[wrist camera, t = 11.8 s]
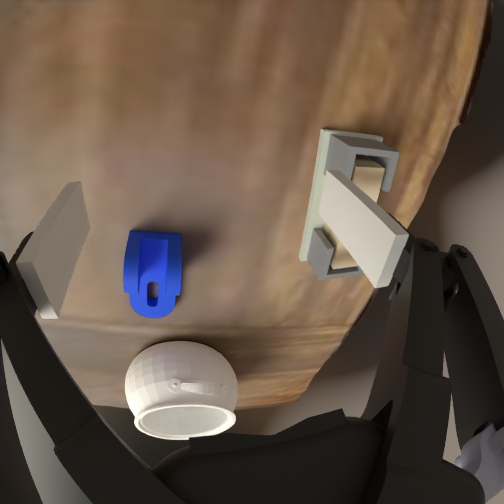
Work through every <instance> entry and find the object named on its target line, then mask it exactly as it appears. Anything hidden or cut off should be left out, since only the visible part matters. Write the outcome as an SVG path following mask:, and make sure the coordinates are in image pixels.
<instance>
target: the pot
mask: <svg viewBox="0 0 504 504" xmlns="http://www.w3.org/2000/svg"><path fill="white" fill-rule="evenodd" d="M125 393H126V398H127V401H128V405H129V407H130V409H131V411H132V412H133V414H134V415H135V421H134V423H135V426H136V427H137V428H138V429H139V430H140V431H142V432H143V433H146V434H148V435H151V436H154V437H158V438H164V439H175V440H187V439H189V437H199V436H209V435H215V434H218V433H221V432H223V431H225V430H227V429H228V428H230V427H231V426H232V425H233V424H234V423H235V420H236V417H235V414H234V413H233V411H234V408H235V406H236V403H237V401H238V385H237V379H236V376H235V373H234V371H233V369H232V367H231V365H230V363H229V362H228V361H227V360H226V359H225V357H224V356H223V355H222V354H221V353H219V352H217V351H216V350H214V349H213V348H211V347H209V346H206V345H204V344H200V343H196V342H189V341H170V342H164V343H159V344H156V345H153V346H151V347H148V348H147V349H145V350H143V351H142V352H141V353H139V354H138V355H137V356H136V357H135V358H134V360H133V361H132V363H131V365H130V367H129V368H128V371H127V374H126V380H125Z"/></svg>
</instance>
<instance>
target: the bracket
mask: <svg viewBox="0 0 504 504" xmlns="http://www.w3.org/2000/svg"><path fill="white" fill-rule="evenodd" d="M181 279H182V244H181V234H171V233H157V232H142V231H130V233H129V237H128V242H127V247H126V252H125V258H124V274H123V282H124V292H125V293H130V304H131V307H132V308H133V310H134V311H135V312H136V313H138V314H139V315H141V316H144V317H147V318H161V317H164V316H166V315H168V314H169V313H171V312H172V310H173V309H174V306H175V298H176V295H180V290H181ZM149 282H156V283H157V284H158V285H159V289H158V298H157V299H155V300H151V299H149V298H148V297H147V284H148V283H149Z"/></svg>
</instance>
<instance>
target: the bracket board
mask: <svg viewBox="0 0 504 504" xmlns="http://www.w3.org/2000/svg"><path fill="white" fill-rule="evenodd" d="M382 142H383V138H382V137H381V136H377V135H370V134H363V133H356V132H348V131H340V130H330V129H321V132H320V139H319V146H318V152H317V159H316V165H315V171H314V177H313V183H312V189H311V195H310V200H309V206H308V212H307V217H306V222H305V228H304V233H303V238H302V244H301V249H300V254H299V259H300V261H308V262H309V264H310V265H311V267H312V269H313V271H314V272H315V274H316V276H317V278H318V279H319V280H326V279H334V278H342V277H350V276H357V275H363V271H362V269H361V268H360V267H359V265H358V266H354V267H347V268H339V269H333V268H332V267H331V265H330V261H331V258H332V254H333V250H334V247H333V246H332V245H331V243H330V242H329V241H328V239H327V238H326V236H325V235H324V234H323V230H324V225H325V221H324V219H323V218H322V217H321V216H320V214H319V213H318V212H319V207H320V202H321V197H322V192H323V187H324V181H325V176H326V170H339V171H340V172H341V173H342V174H343V175H345V176H346V177H347V178H348V179H349V180H351V176H352V172H353V167H354V162H355V157H356V154H361V155H366V156H367V157H369V158H370V159H372V160H373V161H375V162H376V163H378V164H379V165H381V166H382V167H384V168H385V170H384V175H383V179H382V183H381V187H380V189H381V190H383V191H384V192H390V189H391V185H392V181H393V178H394V174H395V170H396V166H397V162H398V158H399V154H400V152H398V151H396V150H395V149H393V148H391V147H389V146H388V145H386V144H384V143H382Z"/></svg>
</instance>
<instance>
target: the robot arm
mask: <svg viewBox="0 0 504 504" xmlns="http://www.w3.org/2000/svg"><path fill="white" fill-rule="evenodd" d="M318 213H319V214H320V216H321V217H322V218H323V219H324V221H325V222H326V223H327V224H328V226H329V227H330V228H331V230H332V231H333V232H334V233H335V235H336V236H337V237H338V239H339V240H340V241H341V242H342V244H343V245H344V246H345V248H346V249H347V250H348V252H349V253H350V254H351V256H352V257H353V258H354V260H355V261H356V262H357V264H358V265H359V267H360V268H361V269H362V271H363V272H364V273H365V275H366V276H367V278H368V279H369V280H370V282H371V283H372V285H373V286H374V287H375V288H379V287H384V286H388V285H389V283H390V281H391V278H392V276H393V275H394V277H395V278H396V279H397V282H396V285H395V287H394V289H393V291H392V293H391V295H390V297H389V300H391V299H392V304H391V309H390V314H389V320H388V325H387V330H386V334H385V339H384V343H383V347H382V352H381V356H380V360H379V364H378V368H377V371H376V375H375V379H374V383H373V386H372V389H371V393H370V396H369V400H368V403H367V406H366V408H365V411H364V413H363V414H362V416H361V418H358V417H345V414H344V412H343V410H342V408H341V409H338V410H335V411H331V412H328V413H324V414H320V415H317V416H313V417H309V418H307V419H305V420H303V421H301V422H299V423H297V424H295V425H294V426H291V427H290V428H287V429H285V430H283V431H281V432H279V433H277V434H275V435H269V436H268V435H266V436H265V435H247V434H234V433H225V434H219V435H209V436H199V437H189V442H190V446H187V447H184V448H182V449H179V450H177V451H175V452H173V453H172V454H170V455H168V456H167V457H166V458H164V459H163V460H162V461H160V462H159V463H158V464H157V465H156V466H155V467H154V468H153V470H152V469H151V468H150V467H149V466H148V465H146V464H145V463H144V462H143V461H142V460H141V459H140V458H139V457H138V456H137V455H136V454H135V453H134V452H133V451H132V450H131V449H130V448H129V447H128V446H127V445H126V443H125V442H124V441H123V440H122V439H121V438H120V437H119V436H118V435H117V434H116V433H115V431H114V430H113V429H112V428H111V427H110V426H109V424H108V423H107V422H106V421H105V420H104V419H103V417H102V416H101V415H100V414H99V412H98V411H97V410H96V409H95V408H94V406H93V405H92V404H91V402H90V401H89V400H88V399H87V397H86V396H85V395H84V393H83V392H82V391H81V389H80V388H79V386H78V385H77V384H76V382H75V381H74V379H73V378H72V377H71V375H70V374H69V372H68V371H67V369H66V368H65V366H64V365H63V363H62V362H61V360H60V359H59V357H58V356H57V354H56V352H55V351H54V349H53V348H52V346H51V344H50V343H49V341H48V339H47V338H46V336H45V334H44V332H43V331H42V329H41V327H40V325H39V324H38V322H37V320H36V318H35V316H34V315H35V312H36V310H37V309H38V311H39V313H40V315H41V317H42V318H43V319H53V318H58V317H59V314H60V310H61V307H62V304H63V300H64V297H65V294H66V291H67V288H68V285H69V282H70V279H71V276H72V273H73V270H74V268H75V265H76V262H77V259H78V257H79V254H80V251H81V249H82V246H83V244H84V241H85V239H86V236H87V234H88V232H89V229H90V224H89V220H88V215H87V211H86V206H85V201H84V196H83V191H82V186H81V181H79V182H72V183H68V184H67V185H66V186H65V188H64V189H63V190H62V192H61V193H60V194H59V196H58V197H57V199H56V200H55V201H54V203H53V204H52V206H51V207H50V208H49V210H48V211H47V213H46V214H45V216H44V217H43V219H42V220H41V222H40V223H39V225H38V226H37V228H36V230H35V231H34V232H30V233H29V234H28V235H27V236H26V237H25V238H24V239H23V240H22V242H21V244H20V245H19V248H17V250H16V252H15V254H14V255H13V257H12V259H11V260H10V262H9V264H8V262H7V259H6V257H5V255H4V253H3V252H1V251H0V504H43V503H42V501H41V498H40V495H39V493H38V491H37V488H36V486H35V484H34V481H33V478H32V476H31V473H30V471H29V468H28V465H27V462H26V459H25V456H24V453H23V450H22V447H21V444H20V441H19V437H18V434H17V430H16V426H15V422H14V418H13V414H12V410H11V405H10V401H9V395H8V390H7V385H6V379H5V372H4V365H3V357H2V349H1V339H2V341H3V344H4V346H5V349H6V352H7V354H8V356H9V359H10V361H11V364H12V366H13V368H14V370H15V373H16V374H17V377H18V379H19V381H20V383H21V385H22V387H23V389H24V391H25V393H26V395H27V397H28V399H29V401H30V403H31V405H32V406H33V408H34V410H35V412H36V414H37V415H38V417H39V419H40V420H41V422H42V424H43V425H44V427H45V429H46V431H47V432H48V434H49V435H50V437H51V439H52V440H53V442H54V444H55V447H54V451H55V454H56V455H57V457H58V459H59V460H60V462H61V463H62V465H63V466H64V468H65V469H66V470H67V472H68V473H69V474H70V476H71V477H72V478H73V480H74V481H75V482H76V484H77V485H78V486H79V487H80V489H81V490H82V491H83V492H84V494H85V495H86V496H87V497H88V498H89V500H90V501H91V502H92V503H93V504H485V503H486V502H487V501H488V500H490V499H491V498H492V497H494V496H495V495H496V494H498V493H499V492H500V491H501V490H502V489H504V320H503V317H502V315H501V313H500V310H499V308H498V305H497V303H496V301H495V299H494V297H493V295H492V292H491V290H490V288H489V286H488V284H487V282H486V280H485V278H484V276H483V274H482V272H481V270H480V268H479V266H478V264H477V262H476V261H475V259H474V257H473V255H472V254H471V253H470V251H468V250H467V248H465V247H464V246H460V245H457V244H453V245H451V247H450V250H449V252H448V253H446V252H440V251H439V248H438V247H437V246H436V245H435V244H434V243H433V242H431V241H429V240H427V239H424V238H415V237H414V236H413V235H412V234H411V233H410V232H409V231H408V230H407V229H406V228H405V227H404V226H402V224H401V223H400V222H398V221H397V220H396V219H395V218H394V217H393V216H392V215H391V214H389V213H388V212H386V211H384V210H383V209H382V208H381V207H380V206H379V205H378V204H377V203H376V202H375V201H373V200H372V199H371V198H370V197H369V196H368V195H367V194H366V193H364V192H363V191H362V190H361V189H360V188H359V187H358V186H356V185H355V184H354V183H353V182H352V181H351V180H349V179H348V178H347V177H346V176H345V175H343V174H342V173H341V172H340V171H339V170H326V176H325V181H324V187H323V192H322V197H321V202H320V207H319V212H318ZM457 289H458V291H457ZM456 291H457V294H456V293H455V292H456ZM444 352H445V357H446V362H447V367H448V373H449V378H446V377H443V357H444ZM451 392H452V399H453V407H454V415H455V424H456V432H457V437H458V441H459V446H460V449H461V455H460V456H459V457H457V458H456V460H455V463H454V464H452V463H449V462H448V461H446V460H444V459H442V458H443V453H444V447H445V441H446V434H447V428H448V420H449V411H450V401H451Z"/></svg>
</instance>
